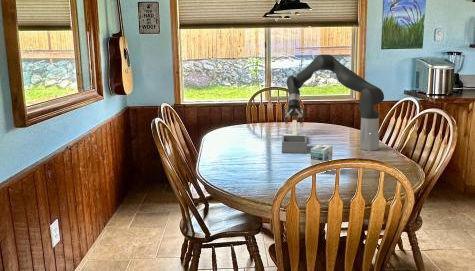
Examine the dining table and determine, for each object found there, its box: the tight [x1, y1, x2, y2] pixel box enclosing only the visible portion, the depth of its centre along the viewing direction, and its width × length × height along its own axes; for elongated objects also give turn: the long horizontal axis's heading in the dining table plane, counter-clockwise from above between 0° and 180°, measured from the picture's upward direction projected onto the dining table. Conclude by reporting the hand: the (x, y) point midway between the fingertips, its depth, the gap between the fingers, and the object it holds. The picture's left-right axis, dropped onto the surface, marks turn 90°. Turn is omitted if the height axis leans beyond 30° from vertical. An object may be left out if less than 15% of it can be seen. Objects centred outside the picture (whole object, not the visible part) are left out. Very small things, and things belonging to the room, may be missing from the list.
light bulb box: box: [309, 143, 333, 174], centre depth 195 cm, size 11×7×11 cm, turn 148°
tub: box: [281, 134, 308, 155], centre depth 235 cm, size 18×13×6 cm
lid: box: [282, 119, 307, 137], centre depth 257 cm, size 19×14×11 cm
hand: (293, 123), depth 268 cm, fingers open, 8 cm apart
